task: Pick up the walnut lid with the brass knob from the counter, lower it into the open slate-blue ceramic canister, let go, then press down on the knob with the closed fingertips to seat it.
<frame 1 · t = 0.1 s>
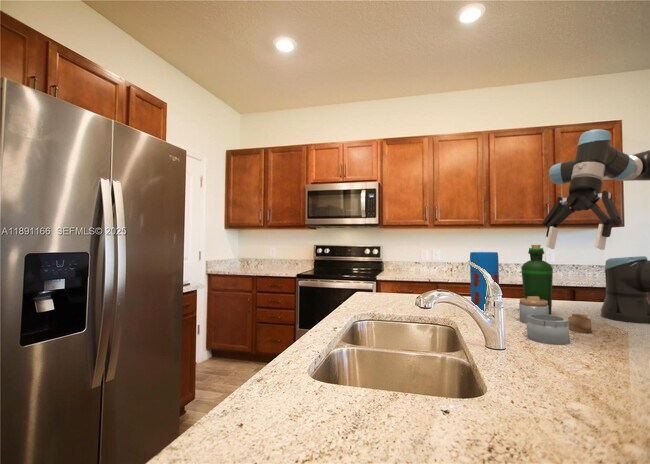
hand: (573, 248, 93), 28 cm above the worktop, tool tilted 20°, fingers open, 13 cm apart
canister: (547, 339, 97), on the worktop
bottle: (538, 315, 128), on the worktop
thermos: (485, 312, 135), on the worktop
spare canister: (534, 321, 117), on the worktop
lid: (580, 330, 105), on the worktop
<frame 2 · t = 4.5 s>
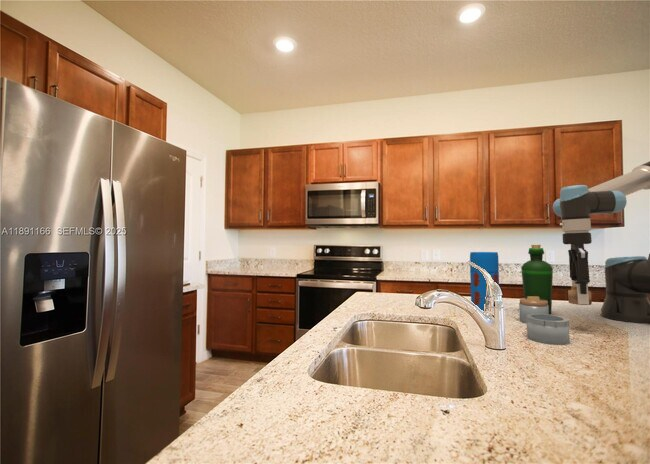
hand: (580, 301, 106), 9 cm above the worktop, tool pointing down, fingers closed on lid, 6 cm apart
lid: (579, 303, 106), point 9 cm above the worktop, touching gripper
everything else where it was.
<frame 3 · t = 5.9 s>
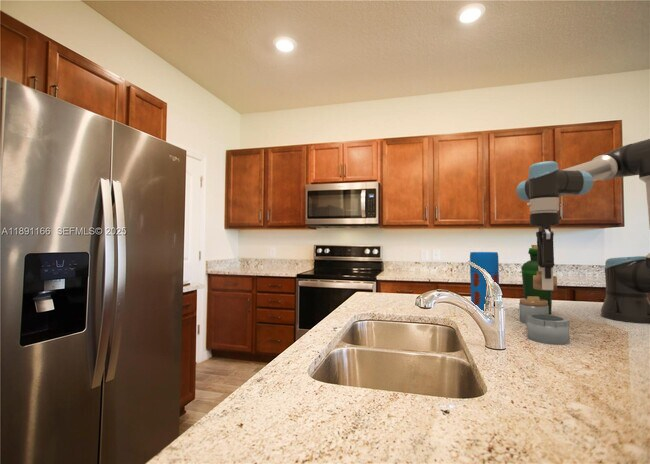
hand: (545, 288, 98), 15 cm above the worktop, tool pointing down, fingers closed on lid, 6 cm apart
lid: (544, 289, 98), point 15 cm above the worktop, touching gripper
everything else where it was.
when the fingers open (7 cm above the worktop, at t = 7.8 s): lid drops 1 cm, resting on canister.
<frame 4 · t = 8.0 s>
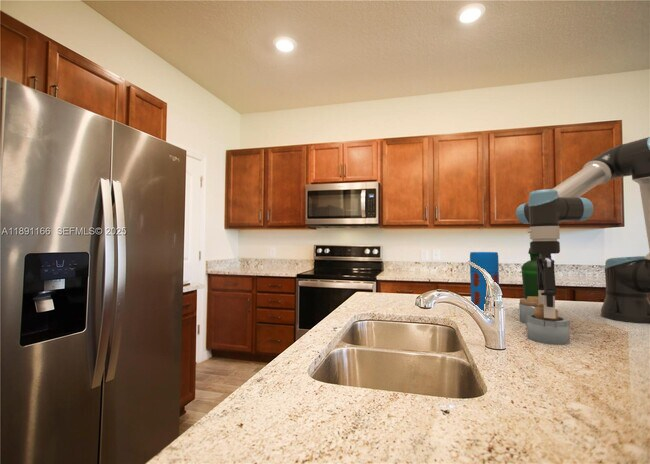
hand: (546, 314, 97), 8 cm above the worktop, tool pointing down, fingers open, 9 cm apart
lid: (546, 322, 97), point 5 cm above the worktop, touching canister
everything else where it was.
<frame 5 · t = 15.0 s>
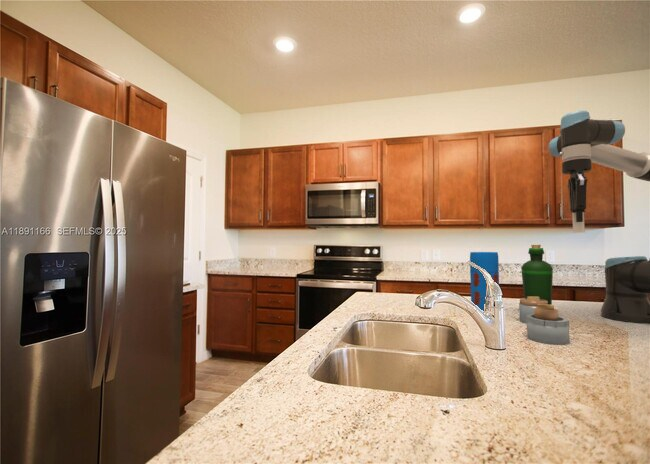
hand: (578, 232, 104), 32 cm above the worktop, tool pointing down, fingers closed
nothing on the worktop moved.
at the end: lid 0.3 cm off-centre on the canister, point 5.0 cm above the canister's base; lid tilted 0°; the gripper is holding nothing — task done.
